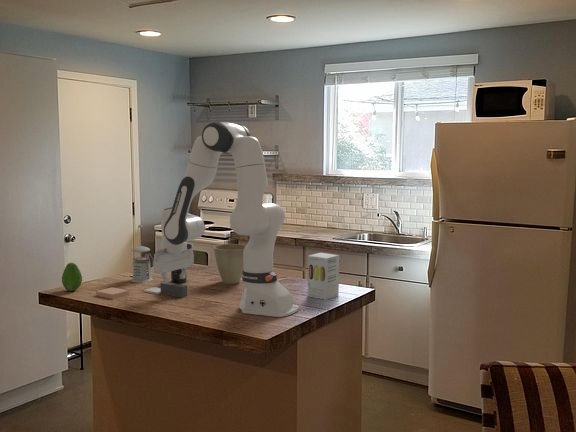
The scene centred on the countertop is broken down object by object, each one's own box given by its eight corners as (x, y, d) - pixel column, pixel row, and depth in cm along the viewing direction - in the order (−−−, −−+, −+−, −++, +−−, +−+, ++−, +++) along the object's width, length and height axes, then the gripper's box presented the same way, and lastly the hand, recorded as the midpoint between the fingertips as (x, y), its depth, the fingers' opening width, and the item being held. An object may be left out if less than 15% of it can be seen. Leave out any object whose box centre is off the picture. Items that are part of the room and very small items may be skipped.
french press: (143, 276, 274) (141, 222, 271) (160, 279, 267) (159, 224, 264) (126, 280, 266) (124, 225, 263) (143, 283, 259) (141, 227, 256)
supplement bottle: (189, 281, 264) (189, 254, 263) (179, 284, 258) (178, 257, 257) (178, 279, 268) (177, 253, 266) (167, 282, 262) (167, 255, 261)
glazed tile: (128, 290, 240) (111, 287, 246) (112, 294, 233) (96, 291, 239) (128, 296, 240) (112, 292, 246) (112, 300, 234) (96, 296, 239)
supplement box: (306, 296, 238) (307, 255, 236) (319, 292, 245) (320, 252, 243) (326, 300, 232) (327, 258, 230) (339, 295, 239) (339, 254, 237)
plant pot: (208, 284, 258) (208, 248, 256) (222, 277, 272) (222, 243, 270) (240, 287, 253) (240, 250, 251) (253, 279, 267) (252, 245, 265)
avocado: (66, 294, 241) (65, 265, 240) (59, 290, 247) (58, 262, 246) (85, 290, 247) (84, 262, 245) (78, 287, 253) (77, 259, 251)
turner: (190, 295, 240) (189, 284, 239) (179, 298, 235) (179, 287, 234) (154, 288, 251) (154, 278, 250) (143, 291, 246) (143, 281, 245)
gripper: (160, 251, 228) (161, 286, 229) (195, 244, 245) (197, 276, 246) (148, 250, 231) (150, 285, 232) (184, 243, 248) (185, 275, 250)
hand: (174, 280), depth 239 cm, fingers open, 8 cm apart
